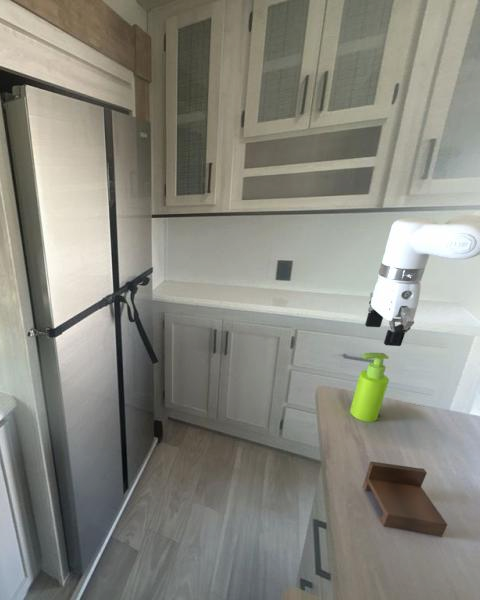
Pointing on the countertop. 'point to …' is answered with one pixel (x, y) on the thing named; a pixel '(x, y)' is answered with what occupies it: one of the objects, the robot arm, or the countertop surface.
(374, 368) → the soap dispenser
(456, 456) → the countertop surface
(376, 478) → the walnut shelf
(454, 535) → the countertop surface
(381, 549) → the countertop surface
